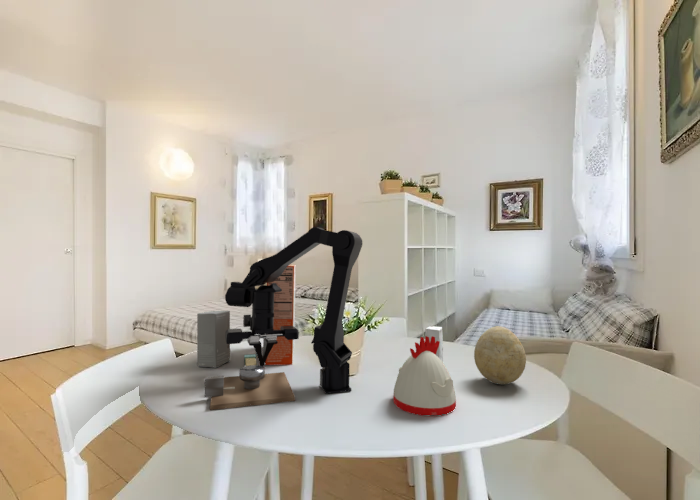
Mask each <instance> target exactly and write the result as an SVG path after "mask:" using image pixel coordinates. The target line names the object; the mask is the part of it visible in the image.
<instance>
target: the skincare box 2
mask: <svg viewBox="0 0 700 500" xmlns="http://www.w3.org/2000/svg"><path fill="white" fill-rule="evenodd" d="M424 335H425V337H426V336H427V337H429V341H431V337H432V336H433V337H435V343H436V341H439V342H440V343H439V347H438V350H437V353H436V356H438V357H439V358H440V360H441V361H442V362H443V363H444V347H443V346H444V345H443V344H444V343H443V342H444V340H443V338H444V337H443V326H434V325H433V326H432V325H430V326H427V327H426V328H425V334H424ZM425 337H424V338H425Z"/></svg>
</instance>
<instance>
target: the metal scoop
mask: <svg viewBox="0 0 700 500" xmlns="http://www.w3.org/2000/svg"><path fill="white" fill-rule="evenodd" d="M265 367H266V366H265V365H264V366H260V364H259V365H258V363H257V354H256V353H255V354H244V357H243V366H242V367H240V368H239V372H238V373H239V375H238V376H239V379H240V380H242V381H257V380H261V379H263V378H264V377H265V374H266V368H265Z"/></svg>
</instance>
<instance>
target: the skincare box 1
mask: <svg viewBox="0 0 700 500" xmlns="http://www.w3.org/2000/svg"><path fill="white" fill-rule="evenodd" d="M196 316H197V318H196V319H197V322H196V323H197V325H196V326H197V328H196V329H197V333H196V335H197V337H196V338H197V339H196V341H197V342H196V343H197V344H196V346H197V347H196V351H197V355H196V356H197V358H196V361H197V362H196V364H197V367H204V368H215V369H217V368H219V367H221V366H222V365H225V364H226V363H228V362H229V361H230V360H231V344H226V340H225V333H226V331H227V330H228V329H231V326H230V325H231V324H230V323H231V321H230V319H231V311H230V310H211V311H203V312H198V313H197V315H196Z"/></svg>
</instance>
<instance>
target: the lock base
mask: <svg viewBox="0 0 700 500" xmlns="http://www.w3.org/2000/svg"><path fill="white" fill-rule="evenodd" d="M203 393H204V394H203V398H210V405H209V410H210V411H213V410H215V411H216V410H222V409H223V410H224V409H232V408H233V409H234V408H243V407H251V406H261V405H268V404H277V403H287V402H295V401H296V396H295V393H294V391H293V389H292V386H291V385H290V382H289V380H288V377H287V376H286V373H285V371H282V372H271V373H265V377H264V378H263V379H261V380H257V381H242V380H240V379H239V375H237V376H235V375H234V376H225V375H217V376H205V377H204V392H203Z"/></svg>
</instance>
